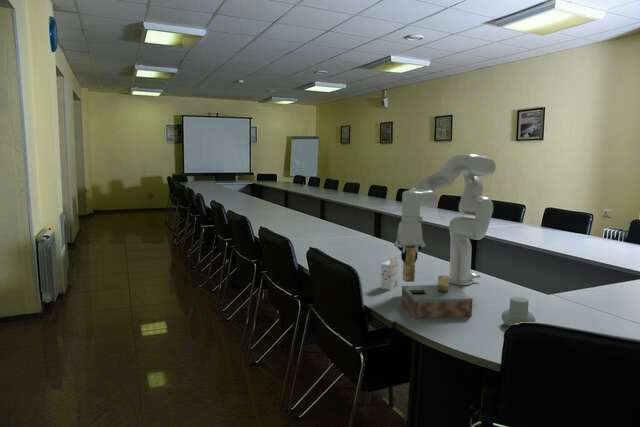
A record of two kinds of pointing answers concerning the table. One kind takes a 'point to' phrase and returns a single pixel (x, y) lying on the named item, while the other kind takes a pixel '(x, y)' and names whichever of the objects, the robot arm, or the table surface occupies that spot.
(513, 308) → the air freshener
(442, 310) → the toolbox
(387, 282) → the ink cartridge box
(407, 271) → the key peg
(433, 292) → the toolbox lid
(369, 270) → the table surface
